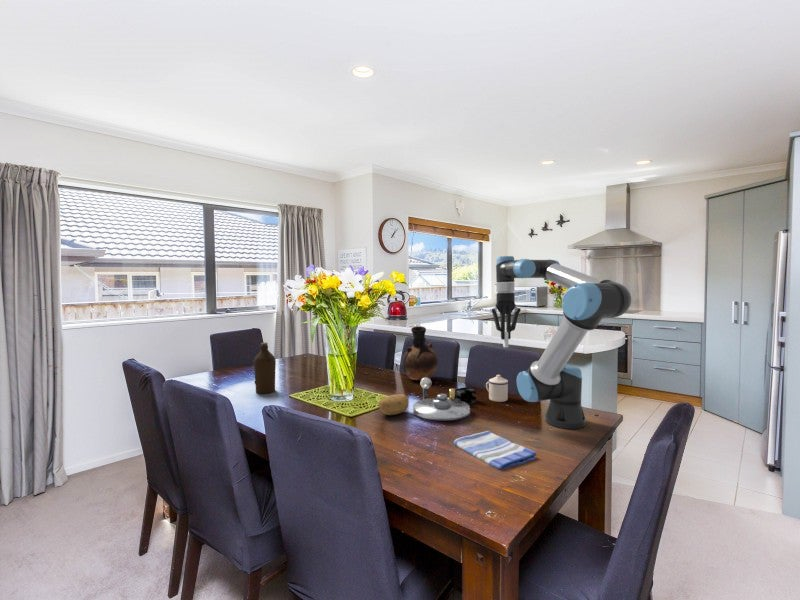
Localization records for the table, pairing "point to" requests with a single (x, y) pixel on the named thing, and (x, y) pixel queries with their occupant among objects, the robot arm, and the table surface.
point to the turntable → (429, 412)
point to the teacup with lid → (498, 389)
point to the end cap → (465, 395)
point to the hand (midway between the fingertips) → (505, 346)
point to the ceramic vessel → (419, 356)
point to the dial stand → (425, 386)
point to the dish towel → (495, 450)
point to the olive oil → (264, 371)
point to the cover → (442, 402)
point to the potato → (393, 404)
